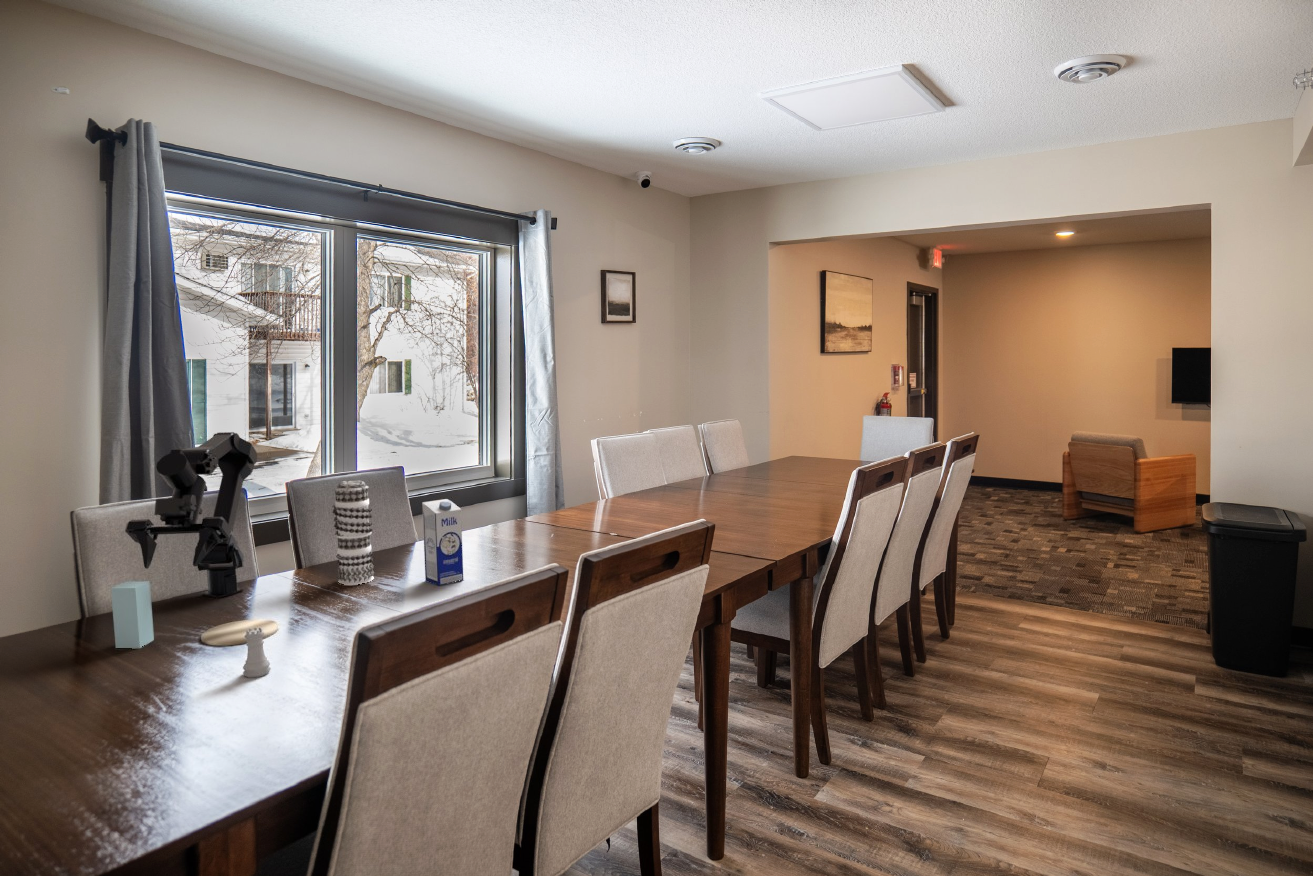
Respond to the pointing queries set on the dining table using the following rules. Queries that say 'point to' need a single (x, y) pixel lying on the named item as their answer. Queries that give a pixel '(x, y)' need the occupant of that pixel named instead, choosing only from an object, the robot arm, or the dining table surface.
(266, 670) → the rook chess piece
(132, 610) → the teal post
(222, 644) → the board
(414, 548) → the dining table surface
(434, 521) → the milk carton
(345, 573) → the patterned cylinder tower
